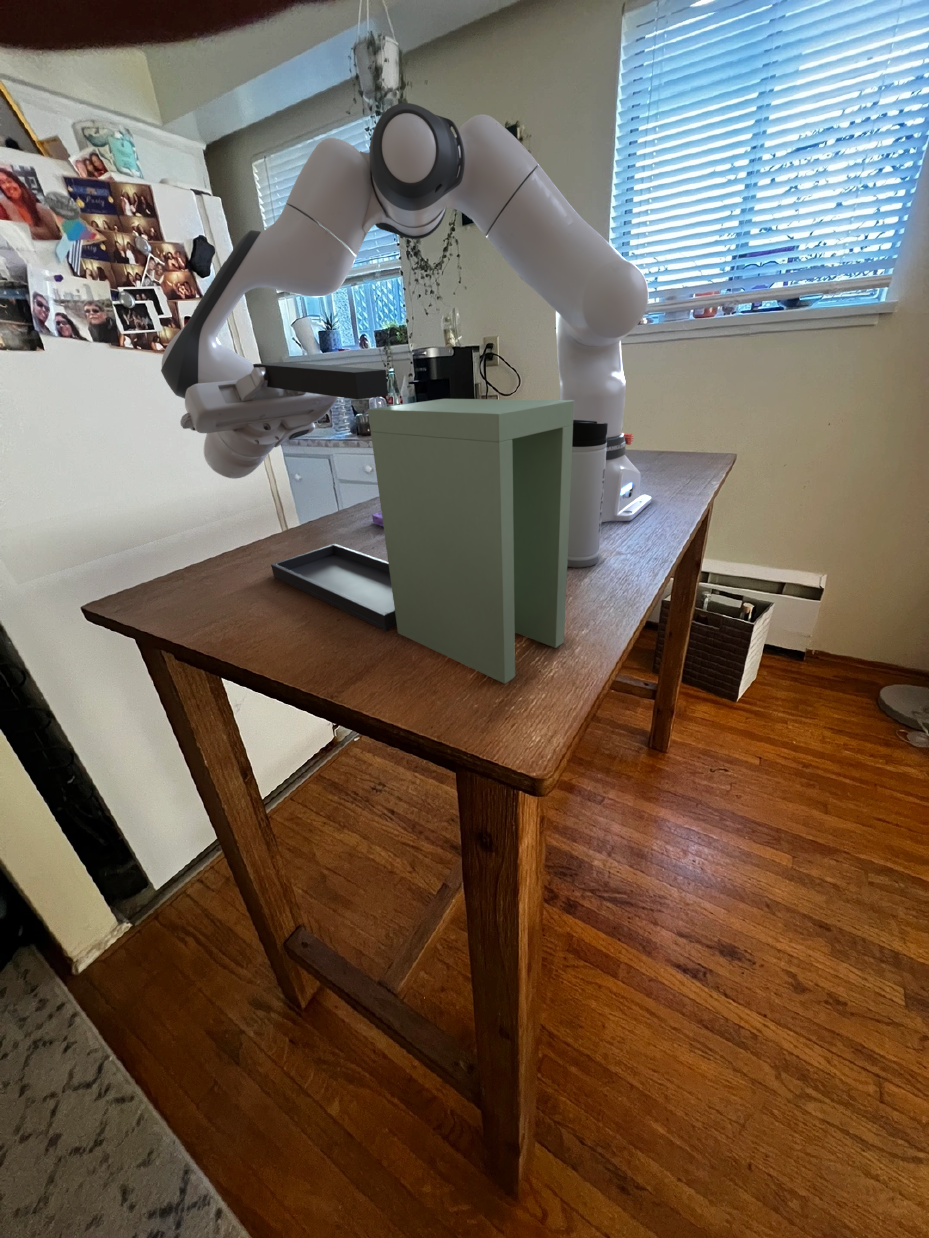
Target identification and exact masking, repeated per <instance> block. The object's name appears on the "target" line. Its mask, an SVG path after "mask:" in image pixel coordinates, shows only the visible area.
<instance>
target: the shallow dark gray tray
mask: <svg viewBox="0 0 929 1238" xmlns="http://www.w3.org/2000/svg"><path fill="white" fill-rule="evenodd" d="M270 567H271V570H272V575H273V578H274V579H277V580H279V581H281V582H283V583H285V584H287V585H289V586H291V587H293V588H295V589H297V590H300V591H301V592H304V593H306V594H308V595H310V596H312V597H314V598H316V599H318V600H320V601H322V602H325V603H326V604H329V605H330V606H332V607H335V608H336V609H339V610H341V611H343V612H345V613H347V614H349V615H351V616H353V617H354V618H355V617H356V618H357V619H360V620H362V621H363V622H366V623H368V624H370V625H372V626H374V627H376V628H378V629H380V630H383V631H384V632H388V631H390V630H391V629H395V628H397V622H396V615H395V607H394V600H393V593H392V585H391V578H390V570H389V563H388V560H387V561H386V560H384V559H381V558H379V557H375V556H372V555H369V554H366V553H364V552H361V551H357V550H355V549H352V548H349V547H345V546H343V545H340V544H336V543H332V544H329V545H326V546H323V547H320V548H317V549H314V550H310V551H308V552H304V553H301V554H299V555H296V556H292V557H289V558H286V559H283V560H279V561H276V562H274V563H271V564H270Z"/></svg>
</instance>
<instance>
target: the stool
mask: <svg viewBox="0 0 929 1238" xmlns="http://www.w3.org/2000/svg"><path fill="white" fill-rule="evenodd" d="M573 413H574V400H559V399H505V398H503V399H502V398H501V399H500V398H499V399H495V398H494V399H493V398H492V399H491V398H490V399H489V398H440V399H432V400H426V401H418V402H411V403H404V404H396V405H389V406H388V405H387V406H381V407H373V408H368V409H367V414H368V422H369V429H370V438H371V445H372V452H373V459H374V467H375V474H376V482H377V488H378V489H377V490H378V496H379V504H380V511H381V512H382V519H383V526H384V527H383V526H382V527H383V532H384V533H383V534H384V541H385V548H386V556H387V562H388V563H389V570H390V578H391V585H392V593H393V600H394V607H395V615H396V622H397V626H396V629H397V634H399V635H401V636H403V637H405V638H407V639H409V640H412V641H414V642H416V643H417V644H420V645H422V646H424V647H426V648H428V649H430V650H433V651H435V652H437V653H439V654H440V655H443V656H445V657H447V658H449V659H450V660H453V661H455V662H457V663H460V664H462V665H464V666H466V667H469V668H470V669H472V670H474V671H477V672H479V673H480V674H483V675H485V676H487V677H489V678H492V679H494V680H495V681H498V682H500V683H502V684H504V685H505V684H507V683H508V682H510V681H512V680H513V679H514V678H516V646H515V645H516V641H515V640H516V639H515V637H516V636H515V635H516V634H518V635H521V636H523V637H526V638H528V639H531V640H533V641H536V642H538V643H541V644H543V645H545V646H549V647H552V648H555V649H556V648H558V647H559V646H561V645H562V644H564V643H565V629H566V626H565V625H566V606H567V605H566V604H567V601H566V600H567V581H568V580H567V578H568V567H567V558H568V534H569V510H570V486H571V462H572V438H573Z"/></svg>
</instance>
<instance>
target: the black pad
mask: <svg viewBox="0 0 929 1238" xmlns="http://www.w3.org/2000/svg"><path fill="white" fill-rule="evenodd" d="M253 366H254V368H258V367H266V368H267V371H268V373H269V375H270V379H271V381H270V383H269V384H268V386H267V387H271V388H278V389H285V390H292V391H300V392H307V393H314V394H321V395H328V396H335V397H338V398H343V399H350V400H357V401H358V400H366V399H373V398H381V397H382V398H383V397H388V396H389V389H388V387H389V386H388V378H387V377H388V376H387V369H383V368H381V369H380V368H367V367H353V366H341V365H340V366H339V365H328V364H327V365H326V364H313V363H300V362H299V363H298V362H288V361H287V362H286V361H276V362H261V363H260V362H259V363H254V364H253Z"/></svg>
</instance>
